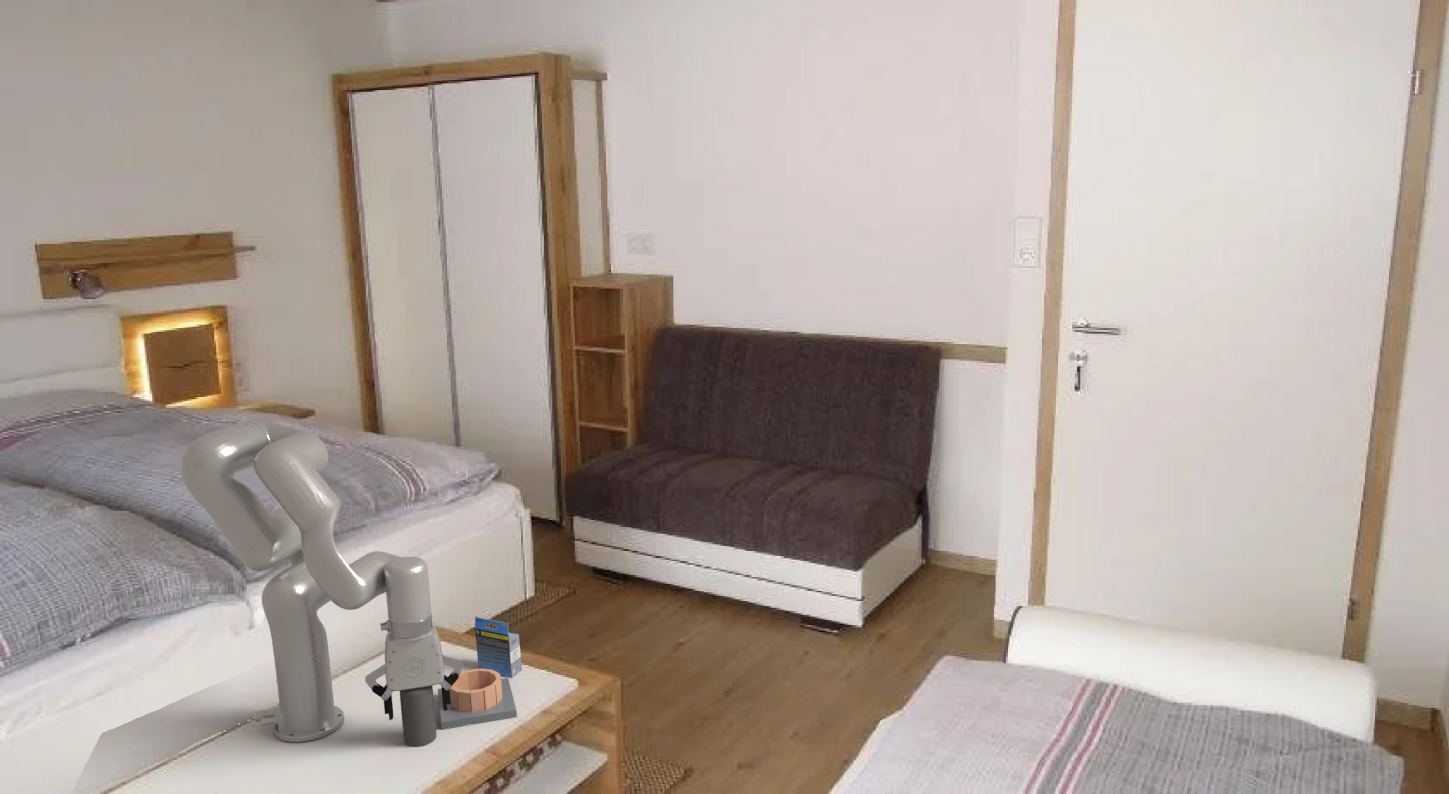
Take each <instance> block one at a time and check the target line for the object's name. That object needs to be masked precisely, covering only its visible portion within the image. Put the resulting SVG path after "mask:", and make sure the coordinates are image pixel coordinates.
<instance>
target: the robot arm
mask: <svg viewBox="0 0 1449 794" xmlns="http://www.w3.org/2000/svg"><path fill="white" fill-rule="evenodd" d="M328 461H329V450H328V448H327V446H326V444H325V443H324V441H323V440H322V439H321V438H320V437H319V436H317V435H316V434H314V433H313V432H309V431H307V430H304V429H300V428H295V427H292V426H287V425H282V424H279V423H276V422H275V423H274V422H272V421H267V420H261V419H252V420H251V419H249V420H244V421H241V422H238V423H234V424H231V425H230V426H226V427H222V428H219V429H217V430H214V431H210V432H208V433H206V434H203V435H202V436H200V437H198V438H197V439H196V440H193V442H192V443H190V444H189V445H188V446H187V448H186V449H185V451H184V454H183V456H182V458H181V464H180V465H181V466H180V472H181V477H182V478H181V479H182V480H183V483H184V485H185V487H186V489H187V491H188V492H189V493H190V495H191V496H192V497H193V499H194V500H195V501H196V502H197V503H198V504H199V505H200V507H202V508H203V510H204V511H205V512H206V513H207V514H208V515H209V517H210V518H211V519H212V521H213V523H215V525H216V527H217V528H218V530H219V531H220V532H221V534H222V535H223V537H224V539H225V540H226V541H227V543H228V544H229V545H230V547H231V549H232V550H233V551H234V553H235V554H236V556H237V557H238V559H240V561H241V563H242V564H244V566H246V567H247V569H249V570H250V571H253V572H259V573H260V572H265V571H266V572H267V571H269V570H271V569H273V568H275V567H277V566H278V565H280V564H283V563H284V562H286V561H289V563H290V564H291V565H290V566H288V567H287V568H285V569H283V570H281V571H280V572H278V573H277V574H275V575H274V576H272V577H271V579H270V580H268V581H267V583H266V584H265V586H264V588H263V590H262V594H261V605H262V609H263V612H264V614H265V618H266V620H267V624H268V626H269V632H270V637H271V642H272V643H271V644H272V653H273V656H274V657H273V658H274V666H275V667H274V668H275V675H276V685H277V694H278V706H275V707H273V709H269V710H259V711H258V710H257V711H255V713H254V718H255V722H256V723H260V725H261V727H265V726H269V725H273V726H272V729H273V734H274V736H275V737H276V738H277V739H279V740H280V741H284V742H290V743H300V742H301V743H302V742H308V741H309V742H310V741H314V740H318V739H320V738H323V737H326V736H328V735H330V734H332V733H334V732H335V731H337V730H338V729H339V728H340V727H341V726H342V725H343V724H344V720H345V715H344V714H345V713H344V711H343V710H342V709H341V708H340V707H338V706H337V705H335V701H334V700H335V699H334V692H333V683H332V671H331V670H332V669H331V663H330V662H331V661H330V652H329V642H328V637H327V631H326V627H325V625H324V624H323V623H322V621H321V620H320V619H319V616H318V610H320V609H321V608H322V607H323V606H325V605H326V604H328V603H330V602H332V603H334V605H336V606H337V607H339V608H340V609H343V610H347V611H351V610H352V611H354V610H357V609H360V608H362V607H363V606H365V605H367V604H369V603H370V602H371V601H372V600H374V599H375V598H376V597H378V596H380V595H383V594H385V597H386V605H387V607H386V609H387V616H388V619H386V621H384V622H380V631H381V632H382V631H383V632H384V631H385V632H387V634H386V637H385V642H384V664H382V665H381V666H379V667H378V668H376V669H374V670H373V671H372V672H370V673H369V674H367V675H365V677H364V678H365V680H364V681H365V683H366V684H367V686H368V687H369V688H370V689H371V691H372V692H373V693H374V694H375V695H377V696H378V697H380V698H381V700H382V701H383V708H384V709H383V711H384V715H388V720H389V721H391V720H393V719H394V705H393V696H392V695H393V693H394V692H400V691H402V690H409V689H415V688H422V687H428V686H432V687H434V686H437V685H440V687H441V688H442V700H443V709H444V710H445V711H447V710H448V709H447V704H451V699H450V689H451V686H452V685H453V684H454V683H455V682H456V681H457V680H458V678H459V675H460V673H461V672H463V669H464V662H463V661H462V660H459V659H456V658H452V657H449V656H446V655H444V654H443V650H442V645H441V644H442V643H441V639H440V635H439V632H438V629H437V627H436V626H434V625H433V616H432V605H431V604H432V603H431V602H432V601H431V593H430V592H431V591H430V589H431V588H430V581H429V580H430V577H429V569H428V568H429V567H428V564H427V562H426V560H424V559H423V558H421V557H418V556H399V555H395V554H391V553H388V552H385V551H371V552H368V553H366V554H365V555H363V556H360V557H359V558H358V559H356V560H354V561H353V562H351V563H349V564H348V562H346V560H345V559H344V557H343V556H342V555H341V554H340V551H339V550H338V547H337V546H336V543H335V537H334V526H335V523H336V519H337V516H338V514H339V512H340V510H341V507H342V506H341V505H342V503H341V499H340V498H339V497H338V495H336V493H335V492H334V490H333V489H332V488H331V486H329V485H328V482H326V480H325V479H324V478H323V477H322V475H321V474H320V472H321V471H323V470H324V469H325V467H326V466H327V464H328V463H329V462H328ZM252 467H253V469H254V471H255V474H256V476H257V477H258V479H259V480H260V481H261V482H262V484H263V485H264V486H265V488H267V490H268V492H269V493H270V494H271V495H272V496H273V498H274V499H275V500H276V502H277V503H278V504H279V506H281V507H279V508H277V509H274V510H272V511H271V512H270V511H269V510H268V509H267V508H266V507H265V505H264V504H263V503H262V501H261V500H260V498H259V497H258V495H257V494H256V493H255V491H253V489H251V488H250V487H249V486H248V485H246V484H244V483H243V482H241V481H239V480H237V479H235V478H234V474H236V473H238V472H241V471H244V470H247V469H249V468H252ZM444 666H447V667H450V668H453V670H452V671H451V673H450V674H449V675H448V676H447V675H446V674H445V667H444ZM383 676H385V684H384V686H383V685H381V684H380V683H378V682H377V680H378V679H379V678H381V677H383ZM441 688H440V689H441Z"/></svg>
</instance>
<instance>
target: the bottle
mask: <svg viewBox="0 0 1449 794" xmlns="http://www.w3.org/2000/svg"><path fill="white" fill-rule="evenodd" d="M433 687H434V686H428V687H422V688H415V689H409V690H402V691H399V696H400V697H399V698H400V699H399V702H400V710H401V711H400V712H401V723H402V732H403V733H402V734H403V741H404V743H405V744H406V746H409V747H421V746H422V747H423V746H425V745H426V746H427V745H429V744H431V743H433V742H434V741H435V740H436V738H437V725H436V724H437V723H436V713H435V699H434V689H433Z"/></svg>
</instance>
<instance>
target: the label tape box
mask: <svg viewBox="0 0 1449 794" xmlns="http://www.w3.org/2000/svg"><path fill="white" fill-rule="evenodd" d="M486 625H488V626H490V625H492V626H493V627H496V628H492V627H487V626H486ZM474 633H475V643H476V644H475V645H476V655H477V656H476V657H477V664H478V665H477V666H478V668H477V669H480V668H481V669H491V670H494V671H496V672H498V673H500V676H503V677H508V676H509V677H508V678H514V677H515V676H516V675H518V674H519V673H521V672H522V670H523V666H522V665H523V664H522V655H521V653H522V652H521V645H520V634H518V633H513V632H509V623H507V622H502V621H498V620H493V619H489V618H483V617H479V616H475V618H474ZM517 673H518V674H517ZM513 676H514V677H513Z"/></svg>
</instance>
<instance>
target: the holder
mask: <svg viewBox="0 0 1449 794" xmlns="http://www.w3.org/2000/svg"><path fill="white" fill-rule="evenodd" d="M501 676H502V675H500V673H498V672H496V671H494V670H491V669H481V668H480V669H479V668H472V669H468V670H462V671H461V673H460V675H459V678H458V680H457V681H456V682H455V683H454V684H453V685H452V686H451V689H450V699H451V704H447V709H448V710H447V711H445V710H444V709H443V700H442V688H437V697H438V699H439V700H438V707H439V713H440V714H439V715H440V724H441V730H447V729H446V728H448V729H450V728H449V727H454V728H456V727H455V726H460V727H464V726H463V725H466V726H468V725H467V724H472V725H478V724H483V723H490V722H496V721H500V720H501V721H502V720H506V719H513V718H517V717H518V716H517V715H518V713H517V707H516V704H515V700H514V695H513V691H512V687H511V684H510V680H509V677H506V678H505V677H504V678H502V677H501ZM489 721H490V722H489ZM477 723H478V724H477Z"/></svg>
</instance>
